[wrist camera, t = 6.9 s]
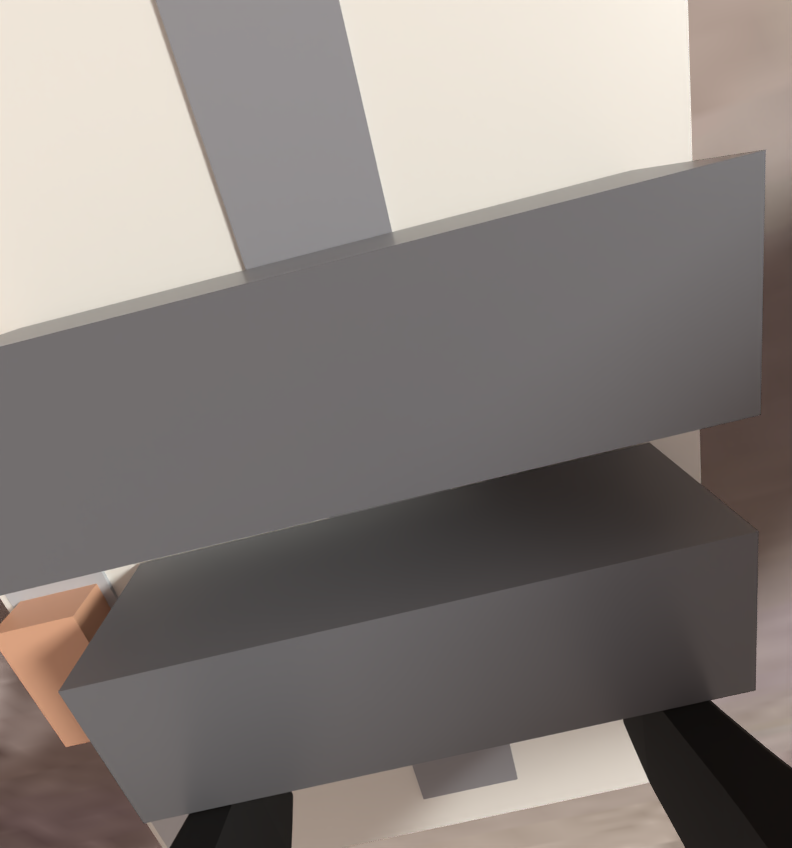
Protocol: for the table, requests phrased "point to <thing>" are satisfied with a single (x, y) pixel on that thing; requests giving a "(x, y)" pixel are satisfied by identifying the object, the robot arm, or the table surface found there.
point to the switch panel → (310, 235)
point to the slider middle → (383, 369)
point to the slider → (420, 633)
